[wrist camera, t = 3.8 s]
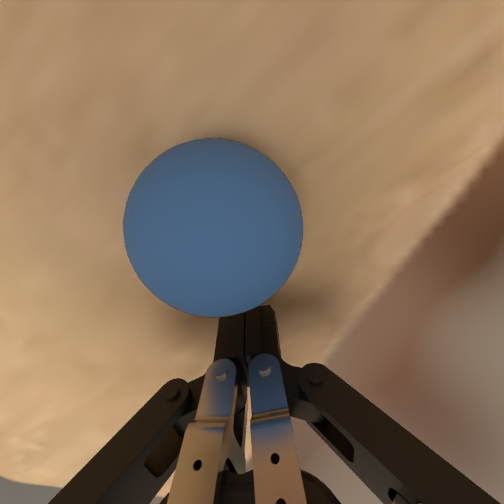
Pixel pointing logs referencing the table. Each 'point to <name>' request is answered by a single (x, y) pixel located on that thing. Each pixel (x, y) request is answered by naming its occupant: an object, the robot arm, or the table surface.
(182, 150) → the ball
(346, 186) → the table surface
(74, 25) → the table surface
